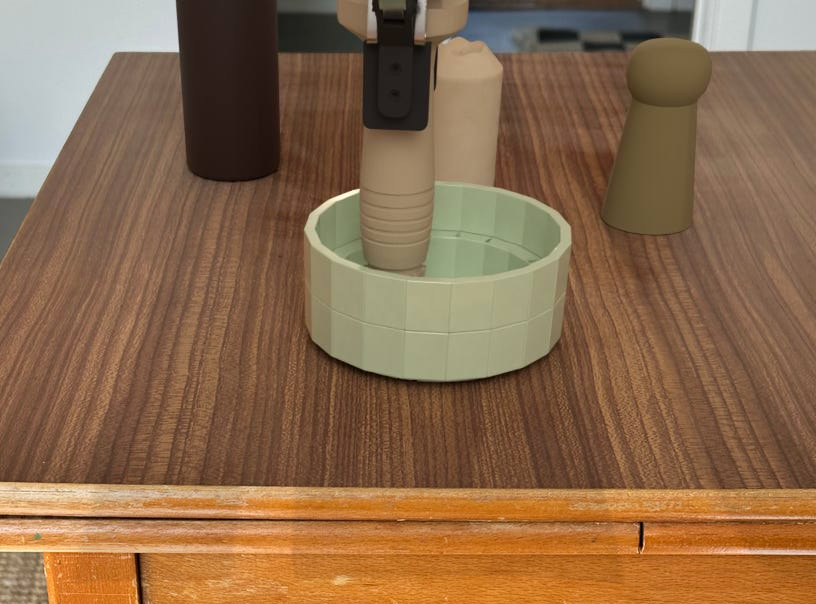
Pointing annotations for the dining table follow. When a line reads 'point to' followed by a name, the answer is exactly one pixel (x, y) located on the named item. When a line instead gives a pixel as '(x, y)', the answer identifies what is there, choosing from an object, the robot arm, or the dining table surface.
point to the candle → (466, 112)
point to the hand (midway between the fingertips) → (400, 105)
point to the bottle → (230, 87)
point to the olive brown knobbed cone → (658, 139)
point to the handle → (400, 161)
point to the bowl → (441, 287)
